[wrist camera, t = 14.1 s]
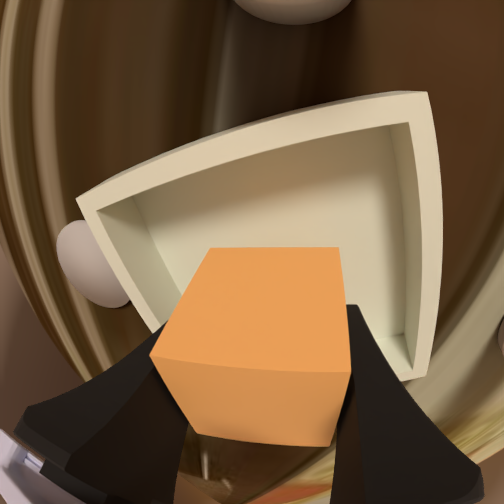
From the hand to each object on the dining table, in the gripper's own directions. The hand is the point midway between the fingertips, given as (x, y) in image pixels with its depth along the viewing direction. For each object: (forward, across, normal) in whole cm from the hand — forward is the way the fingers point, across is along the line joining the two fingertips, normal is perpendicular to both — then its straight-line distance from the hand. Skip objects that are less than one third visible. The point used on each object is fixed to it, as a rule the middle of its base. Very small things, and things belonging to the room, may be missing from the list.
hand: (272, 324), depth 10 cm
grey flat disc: (+4, +11, 0) cm, 12 cm away
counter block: (+1, 0, 0) cm, 1 cm away
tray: (+4, 0, 0) cm, 4 cm away
